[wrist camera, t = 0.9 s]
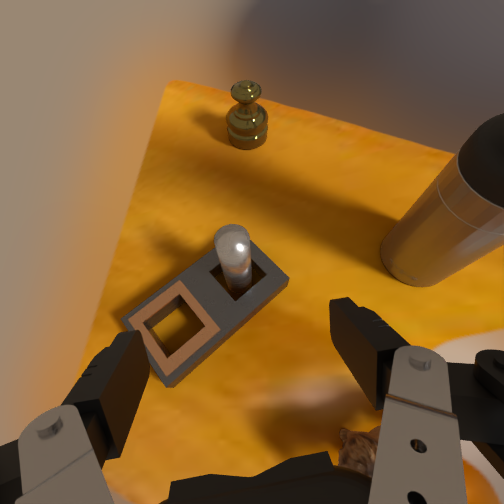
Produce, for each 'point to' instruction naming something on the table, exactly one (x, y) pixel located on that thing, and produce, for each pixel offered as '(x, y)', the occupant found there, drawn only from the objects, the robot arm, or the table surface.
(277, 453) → the table surface
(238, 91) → the bronze chess pawn
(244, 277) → the steel peg
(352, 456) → the lion figurine
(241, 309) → the block with square holes
